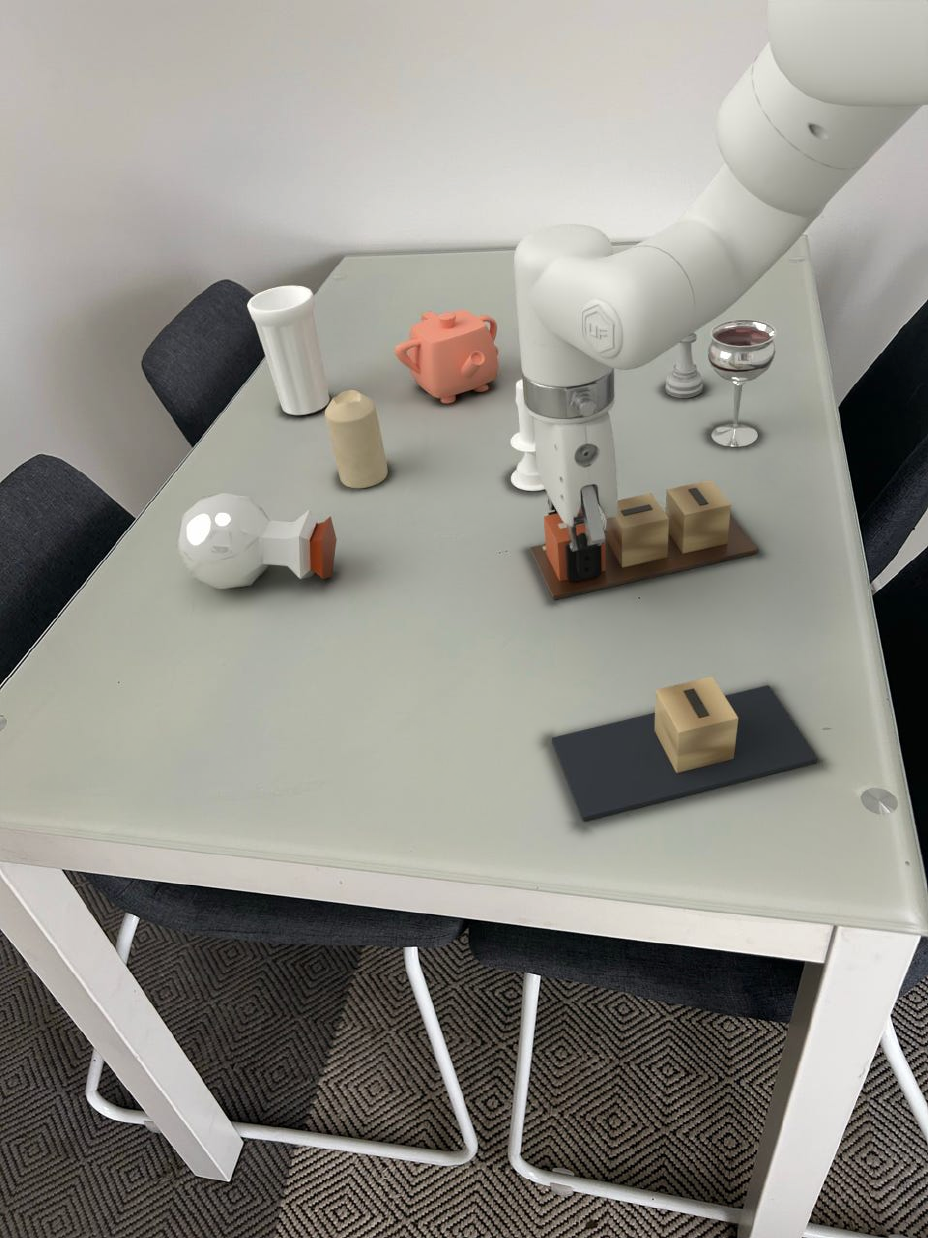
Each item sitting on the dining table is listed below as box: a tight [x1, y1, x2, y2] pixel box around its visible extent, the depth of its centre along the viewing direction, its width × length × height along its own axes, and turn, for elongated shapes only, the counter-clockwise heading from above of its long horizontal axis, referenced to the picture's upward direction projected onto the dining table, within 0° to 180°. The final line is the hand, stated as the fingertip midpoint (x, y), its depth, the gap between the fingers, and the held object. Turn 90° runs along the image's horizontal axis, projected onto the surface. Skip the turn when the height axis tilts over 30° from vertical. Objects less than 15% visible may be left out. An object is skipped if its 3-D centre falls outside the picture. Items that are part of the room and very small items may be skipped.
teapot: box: [394, 309, 499, 404], centre depth 117 cm, size 12×12×10 cm
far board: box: [529, 514, 759, 600], centre depth 90 cm, size 20×8×1 cm, turn 102°
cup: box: [246, 284, 330, 416], centre depth 116 cm, size 8×8×14 cm
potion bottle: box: [175, 492, 338, 590], centre depth 91 cm, size 9×10×15 cm
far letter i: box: [605, 492, 669, 567], centre depth 88 cm, size 4×4×5 cm
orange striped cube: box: [543, 510, 605, 581], centre depth 88 cm, size 4×4×5 cm
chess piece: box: [665, 332, 704, 399], centre depth 110 cm, size 4×4×10 cm
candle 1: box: [324, 389, 389, 489], centre depth 103 cm, size 6×6×10 cm
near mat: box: [551, 684, 819, 822], centre depth 71 cm, size 18×8×1 cm, turn 102°
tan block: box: [654, 675, 738, 773], centre depth 69 cm, size 4×4×5 cm
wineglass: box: [707, 318, 778, 448], centre depth 100 cm, size 7×7×12 cm
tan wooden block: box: [665, 479, 732, 554], centre depth 89 cm, size 4×4×5 cm
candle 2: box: [510, 378, 545, 492], centre depth 98 cm, size 5×5×12 cm
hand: (575, 559), depth 89 cm, fingers open, 4 cm apart
